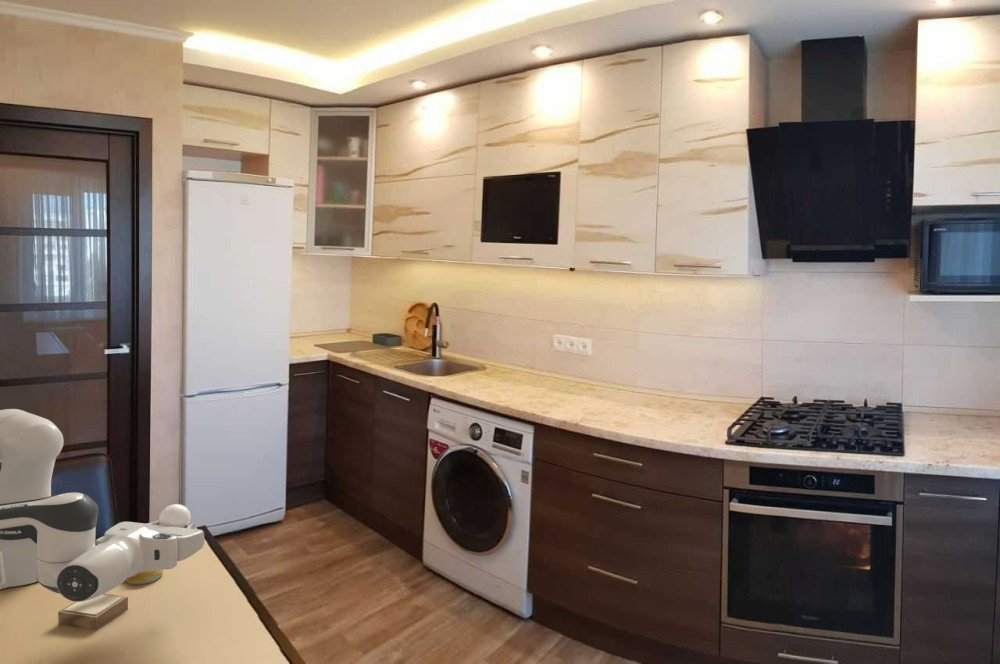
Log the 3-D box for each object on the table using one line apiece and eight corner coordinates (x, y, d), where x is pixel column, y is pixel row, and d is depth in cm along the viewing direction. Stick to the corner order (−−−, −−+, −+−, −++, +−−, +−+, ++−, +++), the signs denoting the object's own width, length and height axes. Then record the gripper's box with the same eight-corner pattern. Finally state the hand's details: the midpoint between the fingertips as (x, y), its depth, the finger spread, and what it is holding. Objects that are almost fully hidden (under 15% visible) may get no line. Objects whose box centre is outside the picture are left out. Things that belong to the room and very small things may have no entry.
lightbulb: (152, 553, 152) (152, 505, 151) (177, 544, 158) (178, 498, 157) (171, 561, 150) (172, 512, 149) (196, 551, 155) (197, 504, 154)
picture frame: (58, 624, 143) (58, 610, 142) (91, 604, 151) (91, 591, 151) (96, 630, 141) (96, 616, 141) (127, 609, 150) (127, 596, 150)
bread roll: (134, 589, 159) (134, 573, 159) (117, 577, 165) (117, 561, 164) (170, 577, 166) (170, 561, 165) (152, 566, 171) (152, 551, 171)
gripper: (90, 559, 143) (136, 533, 156) (179, 569, 139) (218, 543, 153) (89, 529, 142) (135, 506, 156) (179, 539, 139) (218, 515, 152)
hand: (177, 525), depth 154 cm, fingers closed on lightbulb, 6 cm apart
